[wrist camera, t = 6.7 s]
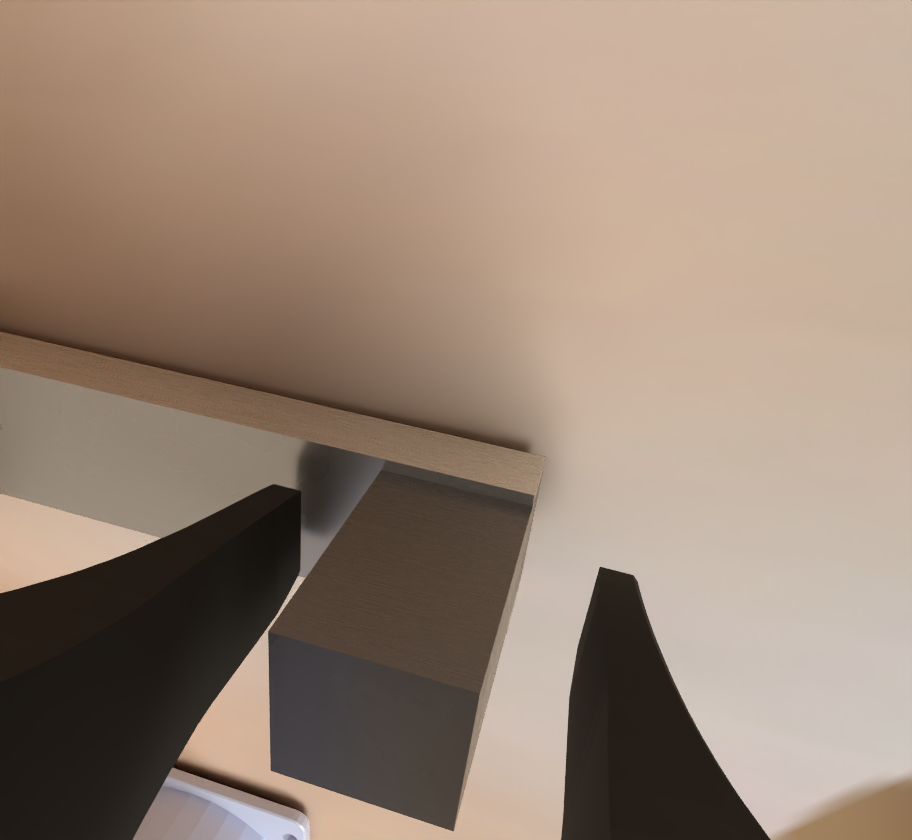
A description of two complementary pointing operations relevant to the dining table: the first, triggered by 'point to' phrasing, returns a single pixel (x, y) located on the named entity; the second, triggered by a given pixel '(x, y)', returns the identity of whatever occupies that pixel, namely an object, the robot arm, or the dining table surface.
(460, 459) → the grey l-shaped bar
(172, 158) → the dining table surface
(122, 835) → the robot arm
